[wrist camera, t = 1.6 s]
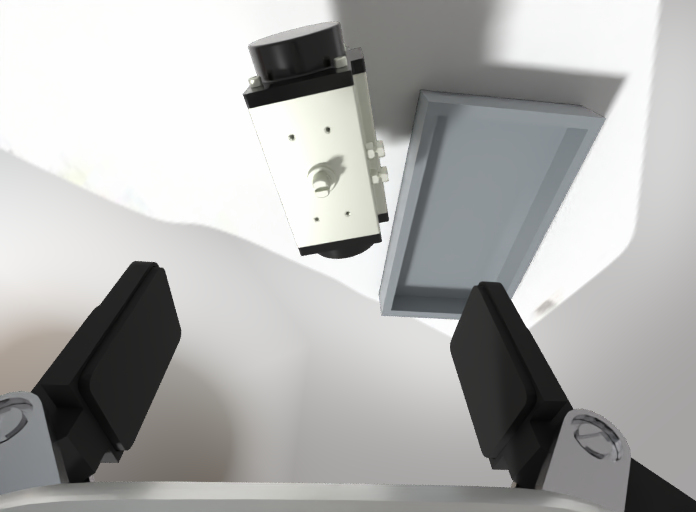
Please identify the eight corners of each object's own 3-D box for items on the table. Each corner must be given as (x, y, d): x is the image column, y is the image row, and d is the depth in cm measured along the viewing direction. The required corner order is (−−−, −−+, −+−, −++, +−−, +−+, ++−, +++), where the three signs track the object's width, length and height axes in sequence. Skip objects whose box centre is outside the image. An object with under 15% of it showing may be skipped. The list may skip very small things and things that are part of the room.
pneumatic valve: (316, 189, 30) (306, 287, 20) (270, 26, 23) (221, 61, 13) (382, 176, 29) (402, 271, 20) (356, 5, 22) (368, 26, 13)
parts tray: (420, 89, 25) (428, 101, 23) (581, 105, 26) (605, 118, 24) (378, 294, 37) (381, 315, 35) (489, 300, 38) (499, 321, 36)
